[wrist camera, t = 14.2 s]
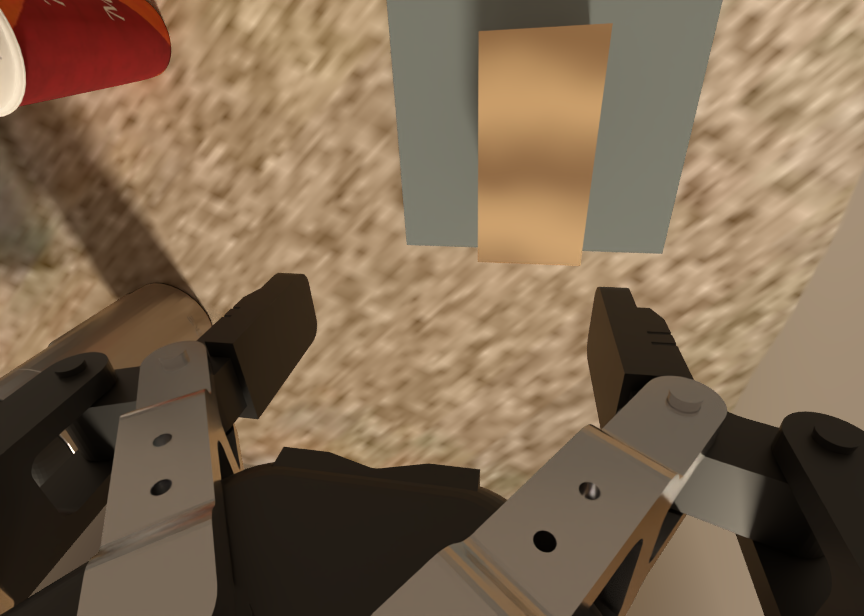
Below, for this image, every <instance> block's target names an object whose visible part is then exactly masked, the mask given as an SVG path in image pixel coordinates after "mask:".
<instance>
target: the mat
mask: <svg viewBox="0 0 864 616" xmlns="http://www.w3.org/2000/svg"><path fill="white" fill-rule="evenodd" d="M722 1H723V0H387V10H388V22H389V34H390V46H391V58H392V70H393V82H394V95H395V107H396V119H397V131H398V143H399V155H400V167H401V179H402V191H403V204H404V216H405V228H406V240H407V245H425V246H454V247H478V70H479V31H491V30H508V29H524V28H541V27H558V26H574V25H591V24H607V23H613V25H612V33H611V40H610V47H609V55H608V62H607V70H606V77H605V85H604V92H603V99H602V107H601V114H600V122H599V129H598V137H597V144H596V152H595V159H594V166H593V174H592V181H591V189H590V196H589V204H588V211H587V218H586V226H585V233H584V241H583V248H582V251H600V252H629V253H658V254H662V253H663V248H664V244H665V240H666V236H667V232H668V227H669V223H670V219H671V215H672V211H673V206H674V202H675V198H676V194H677V190H678V185H679V181H680V177H681V173H682V169H683V164H684V160H685V156H686V152H687V148H688V143H689V139H690V135H691V131H692V127H693V122H694V118H695V114H696V110H697V106H698V101H699V97H700V93H701V89H702V85H703V80H704V76H705V72H706V68H707V64H708V59H709V55H710V51H711V47H712V43H713V38H714V34H715V30H716V26H717V22H718V18H719V13H720V9H721V5H722Z"/></svg>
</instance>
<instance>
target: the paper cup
mask: <svg viewBox="0 0 864 616" xmlns="http://www.w3.org/2000/svg"><path fill="white" fill-rule="evenodd" d="M170 57H171V43H170V38H169V34H168V31H167V29H166V26H165V24H164V22H163V20H162V19H161V17H160V15H159V14H158V13H157V11H156V10H155V9H154V8H153V7H152V6H151V5H150V4H149V3H148V2H147V1H146V0H0V117H2V116H6V115H8V114H10V113H12V112H13V111H14V110H16V109H17V108H18V107H19V106H24V105H28V104H33V103H38V102H43V101H47V100H52V99H57V98H62V97H67V96H71V95H76V94H81V93H86V92H90V91H95V90H100V89H104V88H109V87H114V86H118V85H123V84H128V83H132V82H137V81H141V80H145V79H149V78H152V77H155V76H158V75H160V74H161V73H162V72H164V71H165V69H166V68H167V66H168V64H169V61H170Z"/></svg>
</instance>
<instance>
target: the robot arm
mask: <svg viewBox="0 0 864 616" xmlns="http://www.w3.org/2000/svg"><path fill="white" fill-rule="evenodd" d="M316 331H317V320H316V315H315V310H314V305H313V301H312V296H311V291H310V286H309V282H308V279H307V277H306V276H305V275H304V274H293V273H277V274H275V275H274V276H273V277H272V278H271V279H270V280H269V281H268V282H267V283H266V284H265V285H264V286H263V287H262V288H260V289H258V290H256V291H254V292H252V293H251V294H249V295H247V296H245V297H243V298H242V299H241V300H240V301H239V302H238V303H237V304H236V305H235V306H234V307H233V309H230V310H229V311H228V312H227V313H226V314H225V315H224V317H222V318H221V319H219V320H218V321H217V322H216V323H215V324H214V325H213V326H211V323H210V321H209V318H208V316H207V315H206V313H205V312H204V310H203V309H202V308H201V307H200V306H199V304H198V303H197V302H196V301H195V300H193V299H192V298H191V297H190V296H189V295H187V294H186V293H184V292H182V291H181V290H179V289H177V288H174V287H172V286H169V285H165V284H158V283H152V284H147V285H145V286H143V287H141V288H139V289H138V290H136V291H135V292H133V293H132V294H126V295H125V296H123V297H122V298H120V299H118V300H117V301H115V302H114V303H112V304H111V305H109V306H107V307H106V308H104V309H103V310H101V311H100V312H98V313H97V314H95V315H93V316H92V317H90V318H89V319H87V320H86V321H84V322H82V323H81V324H79V325H78V326H76V327H75V328H73V329H71V330H70V331H68V332H67V333H65V334H64V335H62V336H60V337H59V338H57V339H56V340H54V341H53V342H51V343H50V344H49V346H48V347H47V348H46V349H44V350H43V351H41V352H40V353H38V354H37V355H35V356H34V357H32V358H30V359H29V360H27V361H26V362H24V363H23V364H21V365H20V366H18V367H16V368H15V369H13V370H12V371H10V372H9V373H7V374H6V375H4V376H3V377H1V378H0V616H626V614H627V612H628V611H629V609H630V607H631V605H632V604H633V602H634V600H635V598H636V596H637V593H638V592H639V589H640V587H641V585H642V584H643V582H644V580H645V578H646V576H647V575H648V573H649V572H650V570H651V569H652V567H653V566H654V564H655V563H656V561H657V560H658V558H659V556H660V555H661V553H662V552H663V550H664V549H665V547H666V546H667V544H668V543H669V541H670V540H671V538H672V537H673V535H674V534H675V532H676V531H677V529H678V527H679V526H680V524H681V523H682V521H683V520H684V518H685V517H686V515H690V516H692V517H695V518H697V519H700V520H702V521H705V522H708V523H710V524H713V525H715V526H718V527H720V528H723V529H726V530H728V531H731V532H733V533H736V536H737V539H738V542H739V545H740V547H741V550H742V553H743V556H744V559H745V562H746V565H747V567H748V570H749V573H750V576H751V579H752V581H753V584H754V587H755V590H756V593H757V596H758V598H759V601H760V604H761V607H762V610H763V612H764V615H765V616H864V431H863V430H861V429H859V428H858V427H856V426H854V425H852V424H850V423H848V422H846V421H843V420H841V419H839V418H835V417H833V416H829V415H825V414H821V413H815V412H796V413H792V414H790V415H788V416H786V417H785V418H784V420H783V421H782V423H781V426H780V428H777V427H774V426H770V425H767V424H763V423H760V422H756V421H753V420H749V419H746V418H742V417H740V416H737V415H734V414H732V413H729V412H727V407H726V404H725V402H724V401H723V399H722V398H721V397H720V396H719V395H718V394H717V393H716V392H715V391H713V390H712V389H711V388H709V387H707V386H706V385H704V384H702V383H700V382H697V381H695V380H694V379H693V377H692V375H691V373H690V371H689V369H688V367H687V365H686V363H685V361H684V359H683V357H682V355H681V353H680V351H679V348H678V346H676V342H675V340H674V338H673V336H672V335H671V332H670V330H669V328H668V326H667V324H666V322H665V320H664V319H663V318H662V317H660V316H659V315H658V314H657V313H655V312H654V311H653V310H652V309H650V308H637V306H636V304H635V302H634V299H633V297H632V294H631V292H630V290H629V288H615V287H597V289H596V292H595V297H594V303H593V309H592V316H591V322H590V328H589V334H588V342H587V359H588V365H589V370H590V375H591V381H592V386H593V391H594V396H595V402H596V407H597V412H598V417H599V423H600V428H601V429H599V428H597V427H595V426H594V425H591V424H589V425H587V426H585V427H583V428H582V429H581V430H580V431H579V432H578V433H577V434H576V435H575V436H574V437H573V438H572V439H571V440H570V441H569V442H567V443H566V444H565V445H564V446H563V447H562V448H561V449H560V450H559V451H558V452H557V453H556V454H555V455H554V456H553V457H552V458H551V459H550V460H549V461H548V462H547V463H546V464H545V465H544V466H543V467H542V468H540V469H539V470H538V471H537V472H536V473H535V474H534V475H533V476H532V477H531V478H530V479H529V480H528V481H527V482H526V483H525V484H524V485H523V486H522V487H521V488H520V489H519V490H518V491H517V492H516V493H515V494H513V495H512V496H511V497H510V498H509V499H508V500H506V499H505V498H503V497H502V496H500V495H498V494H496V493H494V492H492V491H490V490H488V489H486V488H483V487H480V469H471V468H462V467H454V466H445V465H436V464H420V465H410V466H399V467H389V468H378V469H376V468H370V467H367V466H365V465H362V464H359V463H357V462H354V461H351V460H349V459H346V458H343V457H341V456H338V455H336V454H333V453H330V452H324V451H316V450H307V449H298V448H290V447H283V449H282V451H281V452H280V454H279V456H278V457H277V459H276V461H275V462H273V463H267V464H262V465H257V466H254V467H251V468H248V469H245V470H244V467H243V461H242V455H241V450H240V444H239V438H238V432H237V429H236V427H235V424H234V422H235V421H236V420H237V419H238V417H242V418H252V419H259V417H260V416H261V415H262V413H263V412H264V410H265V409H266V408H267V406H268V405H269V403H270V402H271V400H272V399H273V398H274V396H275V395H276V393H277V392H278V390H279V389H280V388H281V386H282V385H283V383H284V382H285V381H286V379H287V378H288V376H289V375H290V373H291V372H292V371H293V369H294V368H295V366H296V365H297V363H298V362H299V361H300V359H301V358H302V356H303V355H304V354H305V352H306V351H307V349H308V348H309V346H310V345H311V344H312V342H313V341H314V338H315V336H316ZM106 504H107V508H106V514H105V521H104V528H103V534H102V542H101V547H100V550H99V552H98V553H97V554H96V555H95V556H93V557H92V558H91V559H90V560H89V561H88V562H87V563H85V564H83V565H81V566H80V567H78V568H77V569H75V570H73V571H72V572H70V573H68V574H67V575H65V576H63V577H62V578H60V579H59V580H57V581H55V582H54V583H52V584H50V585H49V586H47V587H45V588H44V589H42V590H41V591H39V592H37V593H35V594H34V595H32V596H31V597H29V596H30V595H31V594H32V592H33V591H34V590H35V589H36V587H38V585H39V584H40V583H41V582H42V580H43V579H44V578H45V577H46V576H47V575H48V573H49V572H50V571H51V570H52V568H53V567H54V566H55V565H56V564H57V563H58V561H59V560H60V559H61V558H62V557H63V555H64V554H65V553H66V552H67V550H68V549H69V548H70V547H71V545H73V543H74V542H75V541H76V540H77V538H78V537H79V536H80V535H81V534H82V533H83V531H84V530H85V529H86V528H87V527H88V525H89V524H90V523H91V522H92V521H93V519H94V518H95V517H96V516H97V515H98V513H99V512H100V511H101V510H102V509H103V507H104V506H105V505H106ZM28 597H29V598H28Z"/></svg>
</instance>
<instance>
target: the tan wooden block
mask: <svg viewBox="0 0 864 616" xmlns="http://www.w3.org/2000/svg"><path fill="white" fill-rule="evenodd" d="M612 25H613V23H607V24H591V25H574V26H558V27H541V28H524V29H508V30H491V31H479V70H478V262H495V263H520V264H546V265H572V266H580V263H581V256H582V248H583V241H584V233H585V226H586V218H587V211H588V204H589V196H590V189H591V181H592V174H593V166H594V159H595V152H596V144H597V137H598V129H599V122H600V114H601V107H602V99H603V92H604V85H605V77H606V70H607V62H608V55H609V47H610V40H611V33H612Z"/></svg>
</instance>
